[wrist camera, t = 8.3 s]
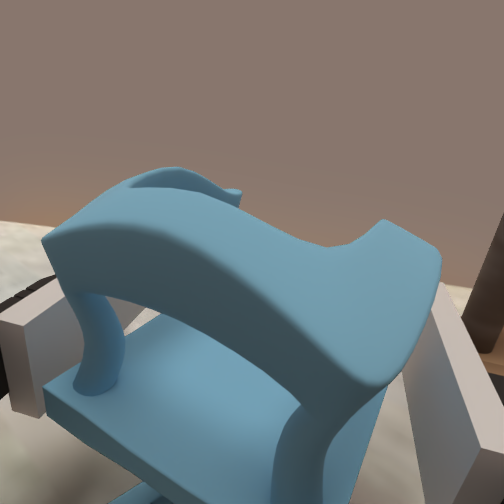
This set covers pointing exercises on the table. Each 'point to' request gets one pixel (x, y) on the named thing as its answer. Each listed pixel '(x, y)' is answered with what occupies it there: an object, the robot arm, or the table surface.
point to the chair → (231, 343)
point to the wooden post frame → (489, 307)
